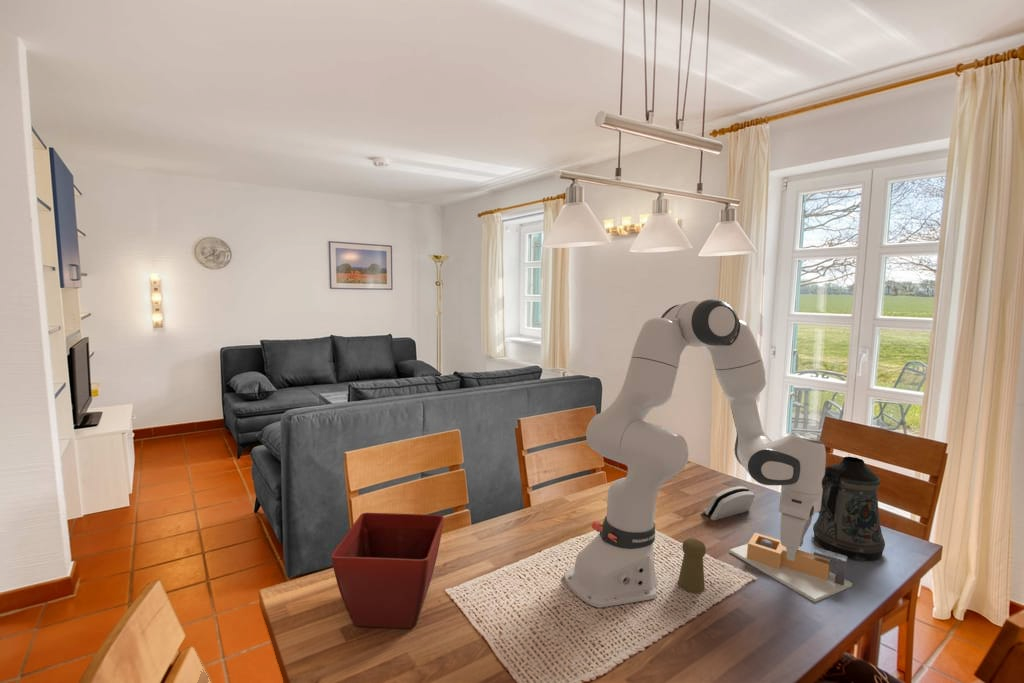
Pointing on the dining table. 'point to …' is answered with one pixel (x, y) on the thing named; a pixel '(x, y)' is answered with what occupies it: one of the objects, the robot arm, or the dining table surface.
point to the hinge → (729, 503)
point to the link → (778, 557)
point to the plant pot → (387, 567)
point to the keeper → (837, 558)
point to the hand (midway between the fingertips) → (794, 551)
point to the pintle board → (795, 576)
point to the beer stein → (850, 511)
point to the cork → (692, 566)
